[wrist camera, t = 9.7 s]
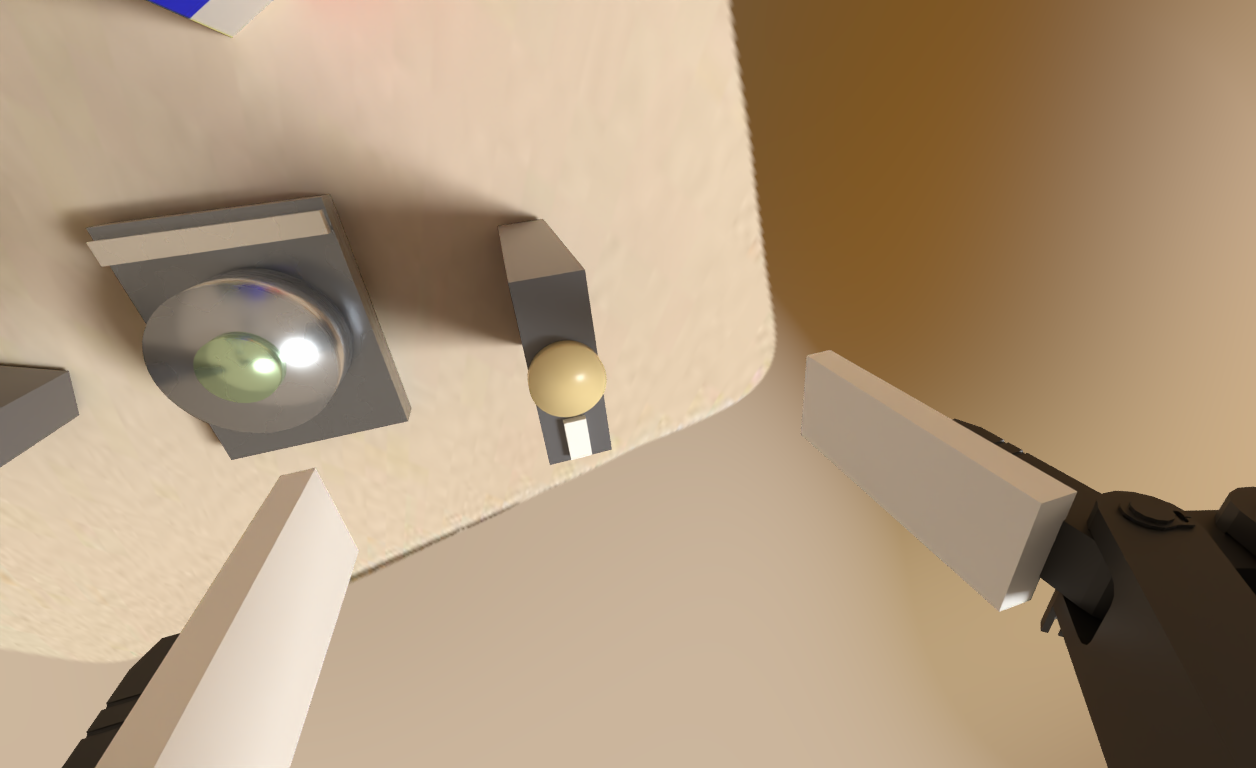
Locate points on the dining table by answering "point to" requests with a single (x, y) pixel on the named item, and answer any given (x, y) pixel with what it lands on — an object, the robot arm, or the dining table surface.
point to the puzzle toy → (216, 12)
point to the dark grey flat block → (32, 407)
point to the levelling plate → (314, 264)
